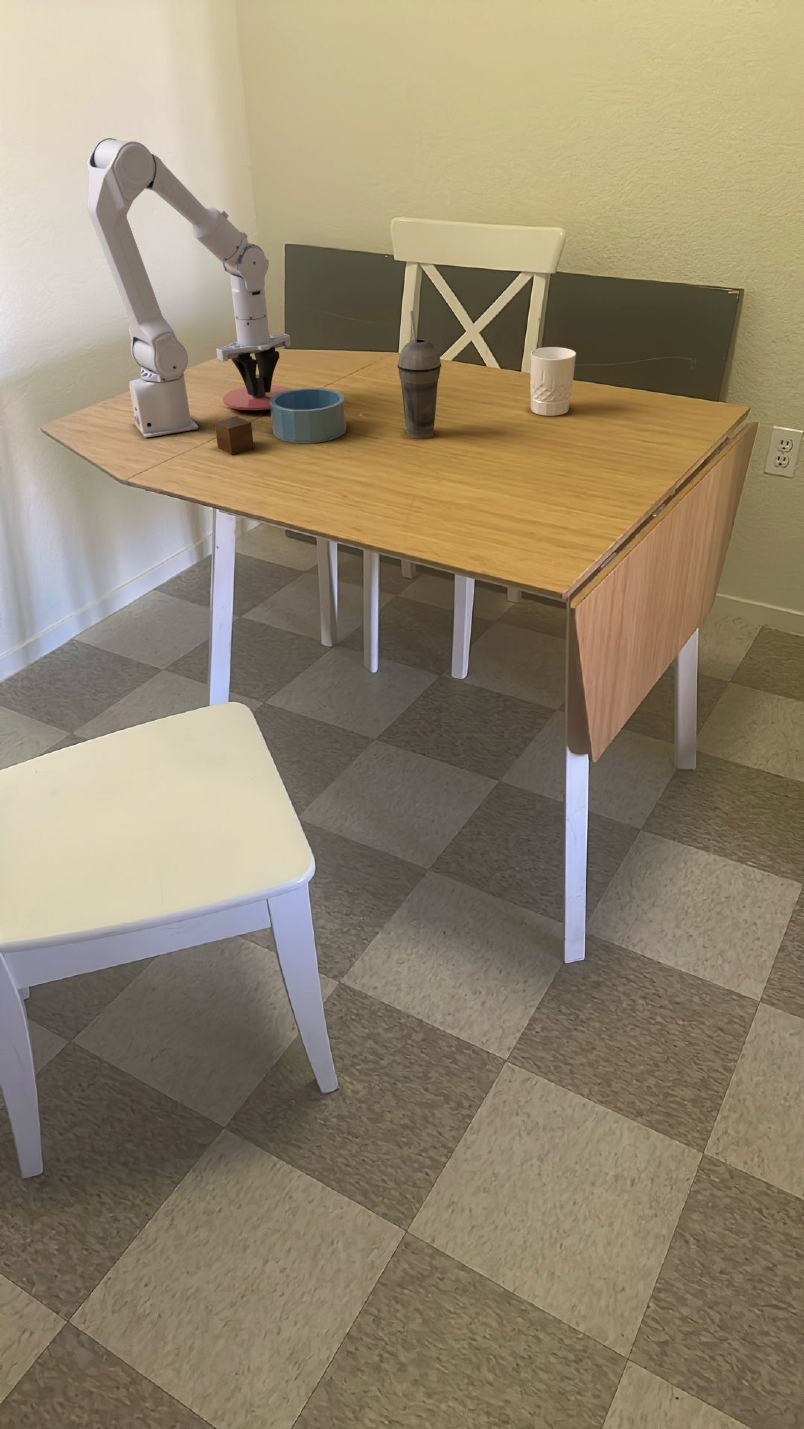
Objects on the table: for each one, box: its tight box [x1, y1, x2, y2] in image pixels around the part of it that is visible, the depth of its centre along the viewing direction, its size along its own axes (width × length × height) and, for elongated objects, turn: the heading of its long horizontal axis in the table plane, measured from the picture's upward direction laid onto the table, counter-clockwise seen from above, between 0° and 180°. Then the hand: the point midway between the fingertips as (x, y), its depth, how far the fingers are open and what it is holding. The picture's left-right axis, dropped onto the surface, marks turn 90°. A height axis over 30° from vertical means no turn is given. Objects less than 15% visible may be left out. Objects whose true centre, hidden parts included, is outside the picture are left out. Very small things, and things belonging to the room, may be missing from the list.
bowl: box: [269, 387, 347, 444], centre depth 168 cm, size 13×13×6 cm
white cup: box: [529, 346, 577, 417], centre depth 172 cm, size 8×8×10 cm
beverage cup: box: [397, 310, 442, 440], centre depth 161 cm, size 7×7×20 cm
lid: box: [222, 373, 294, 411], centre depth 180 cm, size 14×14×5 cm
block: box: [214, 415, 255, 455], centre depth 162 cm, size 4×4×4 cm
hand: (259, 393), depth 180 cm, fingers closed on lid, 2 cm apart
